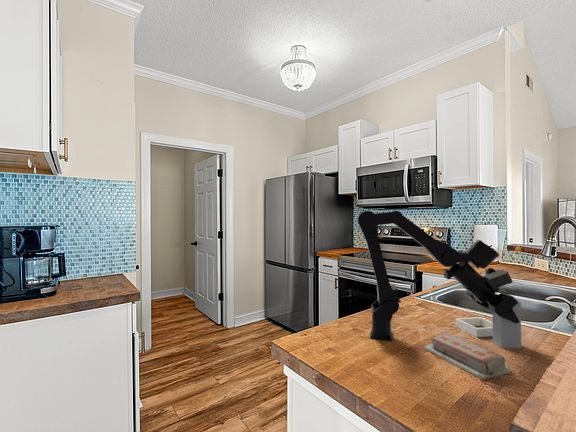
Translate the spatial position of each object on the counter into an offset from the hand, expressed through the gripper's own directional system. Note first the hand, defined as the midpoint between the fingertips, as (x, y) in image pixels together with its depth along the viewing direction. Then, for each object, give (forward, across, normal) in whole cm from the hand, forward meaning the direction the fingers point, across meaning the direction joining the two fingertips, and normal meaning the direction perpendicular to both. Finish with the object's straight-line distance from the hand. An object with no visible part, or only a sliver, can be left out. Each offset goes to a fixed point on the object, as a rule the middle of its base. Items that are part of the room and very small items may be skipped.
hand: (511, 318), depth 88 cm
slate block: (+4, 0, +6) cm, 8 cm away
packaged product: (-6, -12, +18) cm, 22 cm away
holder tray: (+2, +10, +8) cm, 13 cm away
